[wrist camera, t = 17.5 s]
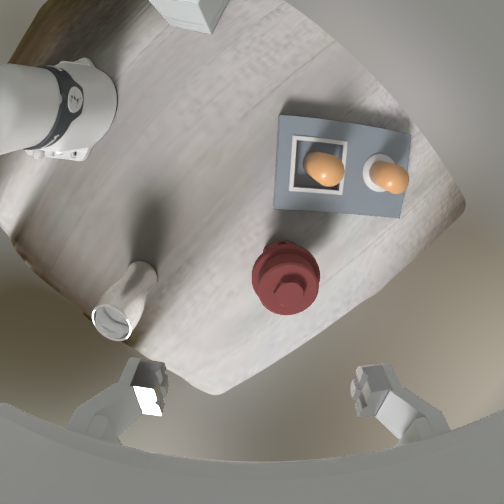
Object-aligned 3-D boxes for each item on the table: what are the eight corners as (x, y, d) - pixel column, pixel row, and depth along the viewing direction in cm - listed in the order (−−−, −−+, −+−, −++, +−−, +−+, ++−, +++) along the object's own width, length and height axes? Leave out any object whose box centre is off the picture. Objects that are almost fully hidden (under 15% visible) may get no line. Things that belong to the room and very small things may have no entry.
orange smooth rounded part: (302, 176, 43) (313, 186, 35) (302, 150, 42) (313, 154, 34) (327, 176, 43) (344, 186, 35) (328, 151, 42) (345, 155, 33)
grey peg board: (273, 204, 46) (278, 221, 38) (278, 116, 41) (284, 112, 32) (392, 213, 47) (416, 230, 38) (402, 134, 41) (431, 137, 33)
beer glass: (138, 250, 49) (102, 294, 36) (167, 276, 51) (141, 327, 38) (118, 274, 51) (83, 320, 38) (146, 298, 53) (118, 349, 40)
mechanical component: (240, 248, 49) (291, 217, 47) (271, 291, 53) (320, 263, 50) (236, 285, 38) (304, 246, 36) (276, 335, 41) (338, 302, 39)
